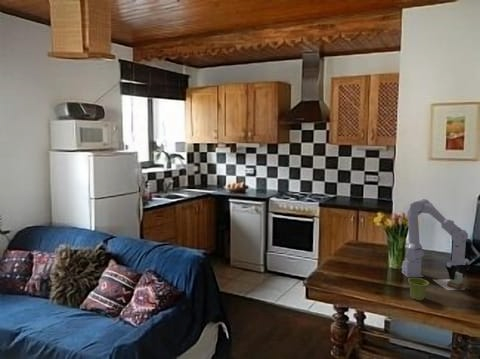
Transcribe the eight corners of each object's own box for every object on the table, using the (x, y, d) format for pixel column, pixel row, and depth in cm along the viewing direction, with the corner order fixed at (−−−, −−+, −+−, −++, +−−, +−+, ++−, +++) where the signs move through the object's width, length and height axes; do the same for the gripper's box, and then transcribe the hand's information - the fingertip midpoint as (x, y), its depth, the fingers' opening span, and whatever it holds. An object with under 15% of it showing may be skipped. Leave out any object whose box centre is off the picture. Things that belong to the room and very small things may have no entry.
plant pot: (422, 294, 202) (423, 277, 201) (431, 302, 193) (432, 284, 192) (403, 294, 202) (404, 277, 201) (412, 302, 193) (413, 285, 192)
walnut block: (457, 289, 206) (457, 285, 206) (447, 285, 211) (447, 281, 211) (465, 288, 208) (465, 283, 208) (454, 283, 214) (455, 279, 214)
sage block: (457, 284, 207) (457, 275, 206) (450, 281, 211) (450, 272, 210) (462, 283, 209) (462, 274, 208) (455, 280, 212) (455, 271, 212)
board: (447, 291, 206) (447, 289, 206) (432, 280, 220) (432, 279, 220) (465, 290, 207) (465, 289, 207) (449, 280, 221) (449, 279, 221)
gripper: (456, 257, 201) (454, 282, 203) (475, 253, 207) (473, 278, 209) (443, 253, 207) (442, 278, 209) (462, 249, 213) (460, 274, 215)
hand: (456, 278), depth 209 cm, fingers open, 7 cm apart
